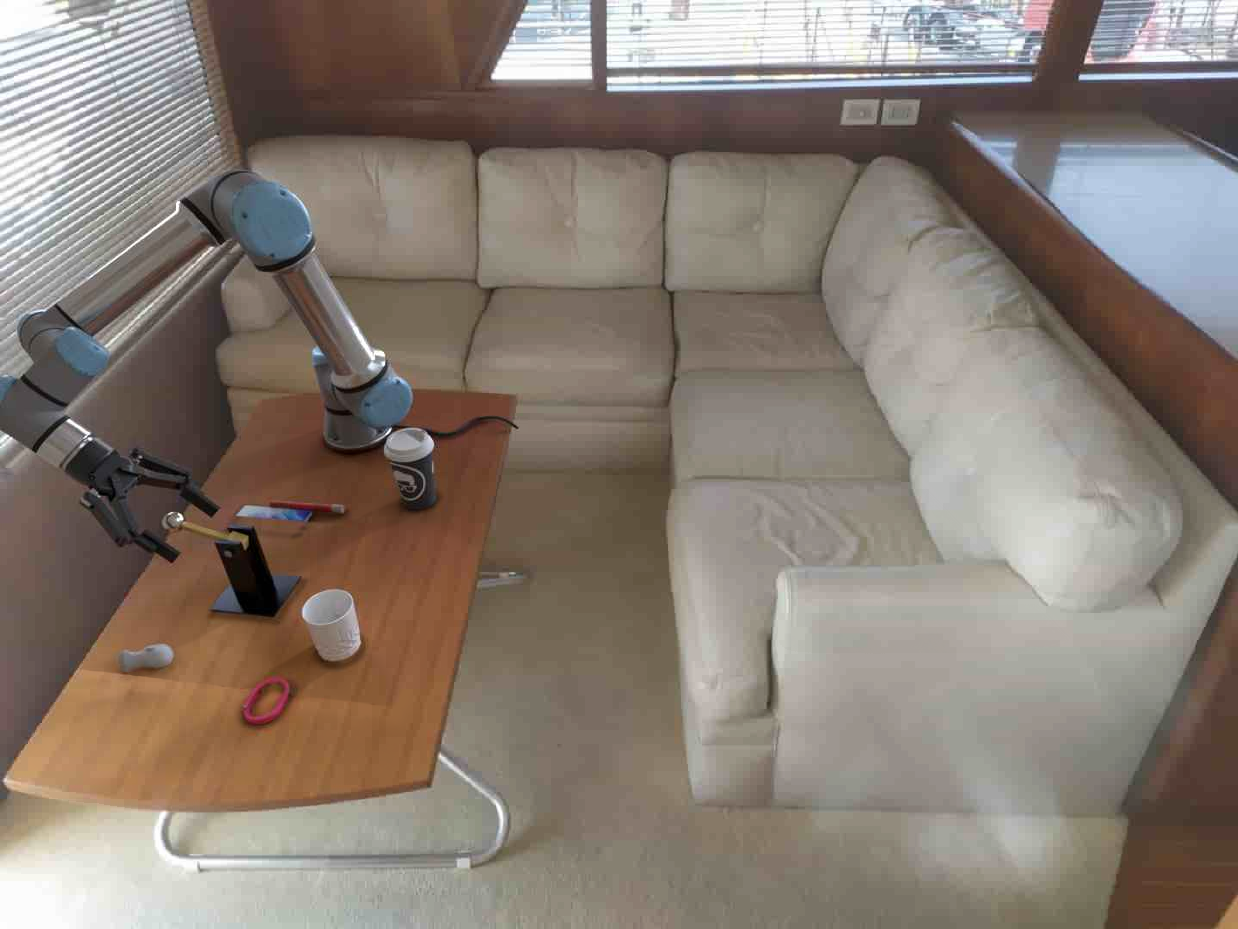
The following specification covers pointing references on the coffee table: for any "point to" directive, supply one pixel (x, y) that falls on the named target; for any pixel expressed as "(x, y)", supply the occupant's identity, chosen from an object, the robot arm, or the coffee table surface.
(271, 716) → the fitness band
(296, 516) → the smartphone
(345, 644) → the white cup
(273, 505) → the red road flare
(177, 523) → the silver ball pendulum
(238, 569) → the bracket
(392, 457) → the coffee cup
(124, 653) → the smooth white sculpture
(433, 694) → the coffee table surface
